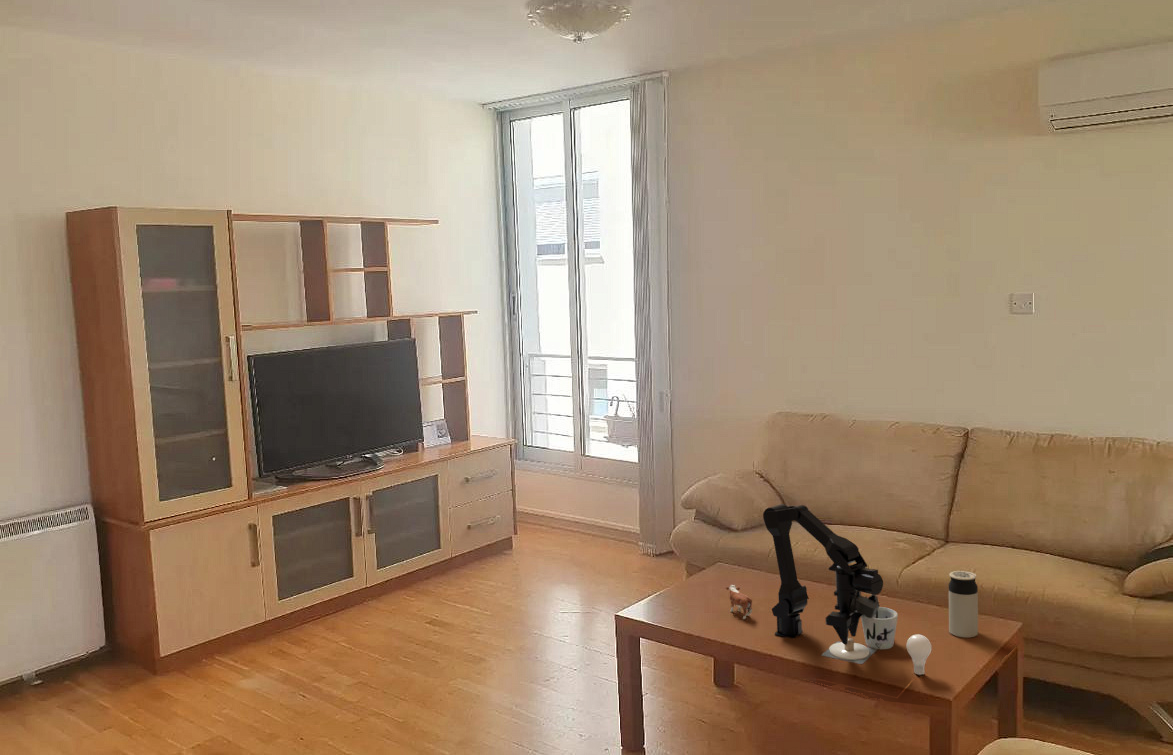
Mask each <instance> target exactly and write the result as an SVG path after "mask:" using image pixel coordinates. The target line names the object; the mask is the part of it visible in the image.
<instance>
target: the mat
mask: <svg viewBox="0 0 1173 755" xmlns="http://www.w3.org/2000/svg"><path fill="white" fill-rule="evenodd" d="M840 642H841V641H838V640H836V642H835V643H840ZM866 647H867V648H868V649H869V656H868V657H866V658H864V659H860V660H845V659H840V658H837V657H834V656H833V655H831V654H830V651H829V648H827V650H825V651H824V652H823V653H822V654H821V655H820V656H821V657H825V658H826V657H827V658H830V659H832V658H833V659H836V660H840V661H844V662H850V663H855V664H859V665H863V664H864V663H865V662H867V660H868V659H870V657H871V656H873V655H874V654H875V652H877V651H878V649H875V648H871V647H869V646H866Z"/></svg>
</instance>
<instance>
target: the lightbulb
mask: <svg viewBox="0 0 1173 755" xmlns="http://www.w3.org/2000/svg"><path fill="white" fill-rule="evenodd" d="M905 646H906V651H907V653H908V655H909V656H910V657H911V660H912V664H913V672H914V673H915V674H916V675H917V676H922V675H924V674H925V664H926V662H927V659H928V657H929V656H930V654H931V652H932V643H931V642H930V640H929V638H927V637H926V636H925V635H922V634H913V635H910V637H909V638H908V639H907V641H906V645H905Z"/></svg>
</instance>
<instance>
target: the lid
mask: <svg viewBox="0 0 1173 755" xmlns="http://www.w3.org/2000/svg"><path fill="white" fill-rule="evenodd" d="M839 642H840V643H836V642H834V643H833V644H831V645H830V646H829V648H828V649H829V651H830V654H831V655H833V656H834V657H837V658H840V659H845V660H860V659H864V658H866V657H868V656H869V649H868V648H867V647H868V646H867V645H863V644H862V643H857V642H855V639H854V637H853V638H852V637H848V642H847V645H845V644H843V643H842V641H839Z"/></svg>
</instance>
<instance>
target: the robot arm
mask: <svg viewBox="0 0 1173 755" xmlns="http://www.w3.org/2000/svg"><path fill="white" fill-rule="evenodd" d="M762 517H763V521H764V525H765V528H766V530H767V531H768V532H769V533H770V534H771V536H772V540H773V544H774V546H773V547H774V550H775V555H776V556H775V557H776V560H777V567H778V572H779V577H780V587H779V589H778V590H779V591H778V594H777V596H778V602H777V603H776V604H775V605H774V606H773V607H772V608H771V612H772V615H773V617H776V632H774V635H775V636H779V637H784V638H791V639H796V638H797V637H799V635H800V634H802V633H803V632H804V631H803V627H802V625H803V624H802V619H801V613H804V610H805V608H806V606H807V605H808V600H809V599H810V598H809V596H808V592H807V591H808V590H807V586H806V585H802V584H801V583H800V582H799V580H798V576H797V575H798V574H797V570H796V564H795V559H794V552H793V548H792V547H793V546H792V541H791V537H790V532H791V529H792V525H793V521H795V522H796V523H797V524H799V525H800V526H801V527H802V528H803V529H804V530H805V531H806V532H808V533H809V534H810V535H811V537H813V538H814V539H815V540H816V541H818V542H819V544H821V545H822V547H823V548H824V550H825V552H826V555H827V556H828V557H829V559H830V560H831V561H832V562H833V563H832V564H831V565H830V566H829V567H828V570H829V571H831V572H835V586H836V587H835V591H834V592H833V596H836V604H835V605H834V610H836V611H831V612H830V613H829V614H827V616H825V625H827V626H829V627H830V626H831V627H833V628H834V630H835V632H836V634H837V636H838V637H839V639H840V642H842V643H843V644H845V645H847V642H848V638H849V633H850V636H851V637H853V638H854V637H856V636H857V630H858V628H859V622H860V619H861V616H862V615H865V616H866V617H868V618H872V617H873V616H874V615H875V614H876V612H877V609H878V607H881V606H880V601H879V598H878V595H879V594H880V593H881V592H882V591H883V587H884V581H883V578H882V576H881V574H879V570H878V569H875V568H867V567H868V563H867V562H866V561H865V559H864V558H863V555H862V554H861V553H860V551H859V549H860V548H859V547H858V546H857V545H856V544H855V543H854V542H852V541H851V540H849V538H846V537H843V536H840V535H838V534H836V533H835V532H834V531H832V530H831V529H830V528H829V527H828V525H826V524H825V523H824V522H823V521H821V520H820V519H819V518H818V517H817V516H816V515H814V514H813V512H811V511H810V510H809V508H808V506H806V505H804V504H800V505H789V506H787V505H786V504H784V503H781V504H778V505H774V506H769V507H767V508H765V510H764V511H763V513H762ZM850 564H851V565H850ZM862 593H866V594H870V595H869V597H868V596H863V595H862Z"/></svg>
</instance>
